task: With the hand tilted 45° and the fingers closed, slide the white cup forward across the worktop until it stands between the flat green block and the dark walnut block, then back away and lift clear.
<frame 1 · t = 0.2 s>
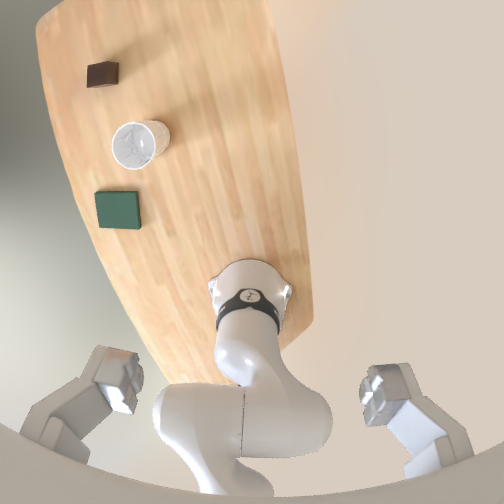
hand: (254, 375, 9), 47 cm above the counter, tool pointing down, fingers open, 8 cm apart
flat green block: (118, 209, 57), on the counter
white cup: (154, 137, 50), on the counter
walnut block: (108, 75, 43), on the counter
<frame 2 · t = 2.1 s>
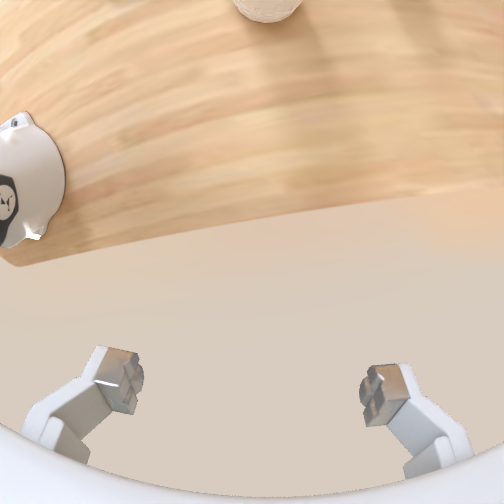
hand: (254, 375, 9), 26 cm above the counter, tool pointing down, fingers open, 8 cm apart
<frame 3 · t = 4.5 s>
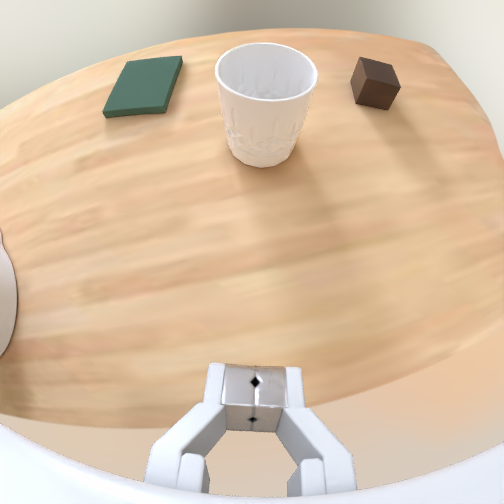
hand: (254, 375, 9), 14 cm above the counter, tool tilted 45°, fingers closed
flat green block: (145, 87, 31), on the counter
white cup: (260, 142, 29), on the counter
walnut block: (369, 95, 31), on the counter
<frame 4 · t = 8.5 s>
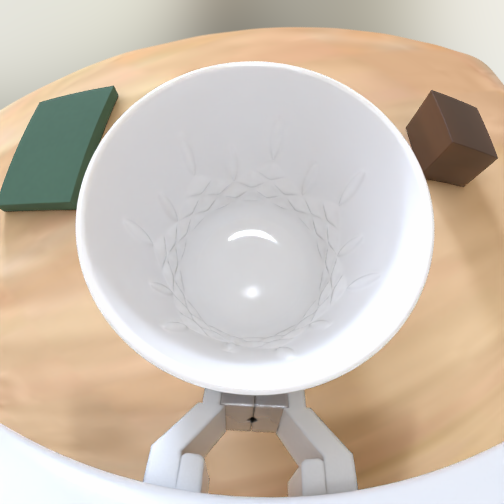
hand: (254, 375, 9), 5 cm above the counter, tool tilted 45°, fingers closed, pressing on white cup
flat green block: (57, 150, 17), on the counter
white cup: (250, 278, 15), on the counter, touching gripper
walnut block: (435, 156, 18), on the counter
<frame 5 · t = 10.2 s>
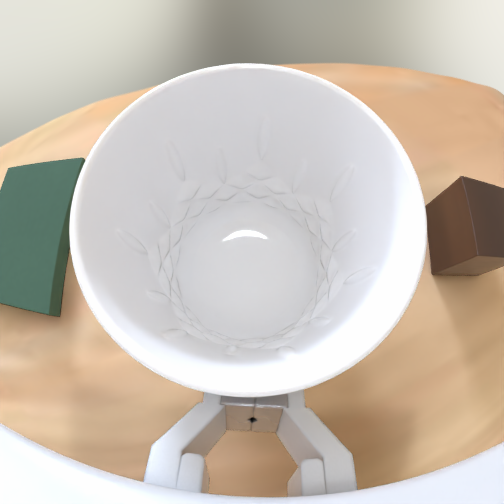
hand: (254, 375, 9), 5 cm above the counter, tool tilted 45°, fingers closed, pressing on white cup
flat green block: (30, 234, 16), on the counter
white cup: (246, 279, 15), on the counter, touching gripper
walnut block: (452, 242, 16), on the counter
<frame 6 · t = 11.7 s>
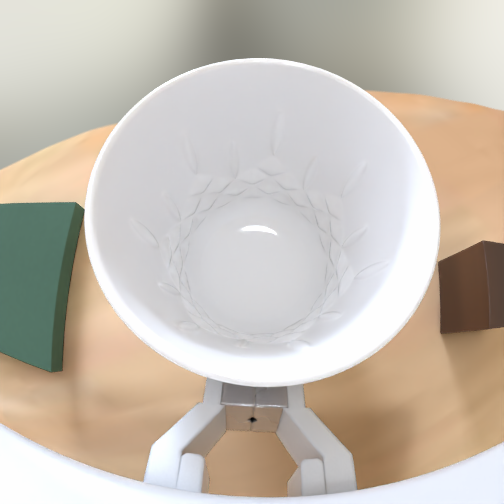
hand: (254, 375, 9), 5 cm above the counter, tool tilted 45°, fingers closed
flat green block: (25, 280, 15), on the counter
white cup: (254, 275, 15), on the counter
walnut block: (464, 297, 15), on the counter
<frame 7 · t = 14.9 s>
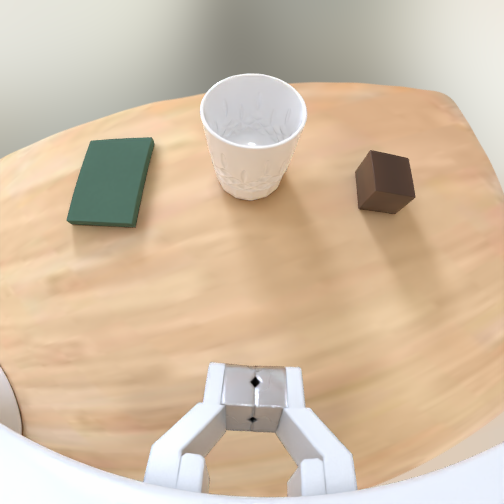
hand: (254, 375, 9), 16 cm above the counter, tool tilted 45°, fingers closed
flat green block: (111, 182, 28), on the counter
white cup: (249, 172, 29), on the counter
walnut block: (375, 192, 29), on the counter
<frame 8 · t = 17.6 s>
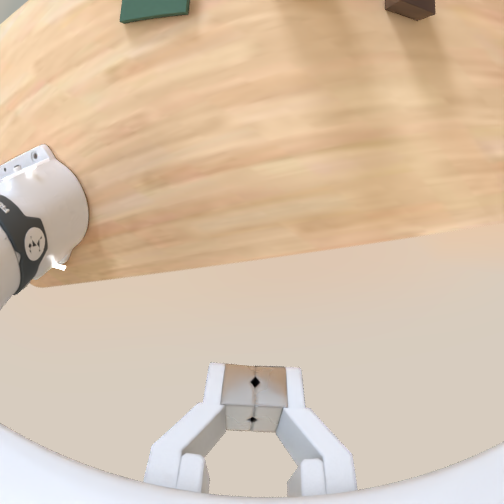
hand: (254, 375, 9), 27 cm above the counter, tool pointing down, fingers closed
walnut block: (401, 0, 21), on the counter
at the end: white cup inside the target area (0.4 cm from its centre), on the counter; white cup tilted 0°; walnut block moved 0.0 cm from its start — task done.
